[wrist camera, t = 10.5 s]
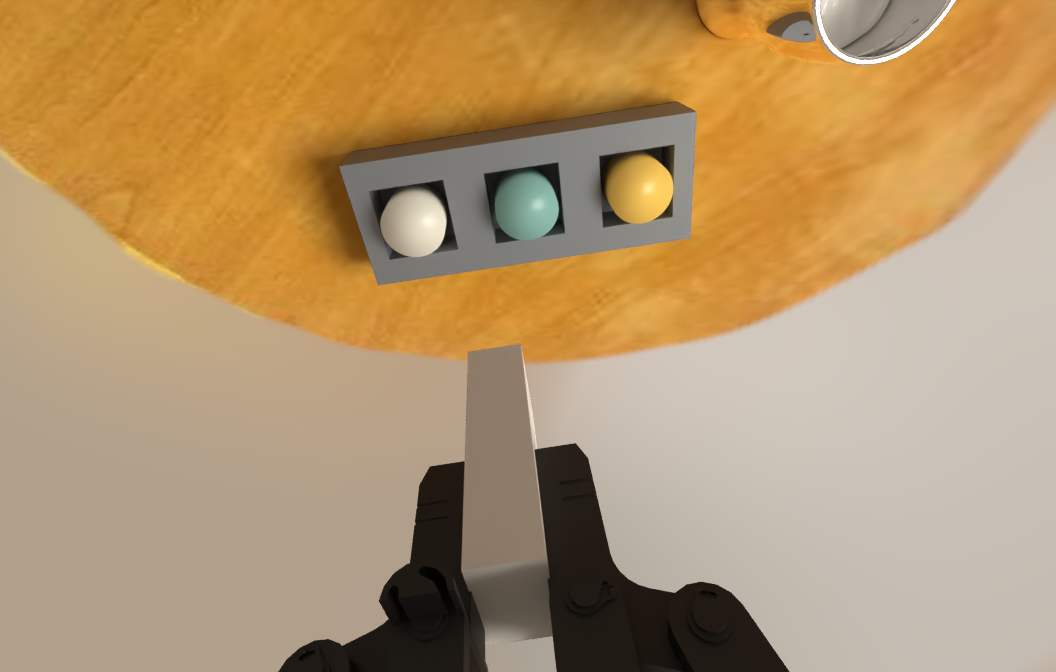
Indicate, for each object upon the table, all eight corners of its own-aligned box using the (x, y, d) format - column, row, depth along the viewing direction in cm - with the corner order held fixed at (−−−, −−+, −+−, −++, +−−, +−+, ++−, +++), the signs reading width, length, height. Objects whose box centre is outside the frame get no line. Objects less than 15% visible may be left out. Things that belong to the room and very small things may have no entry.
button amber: (602, 212, 39) (611, 228, 37) (599, 153, 37) (608, 165, 34) (659, 203, 39) (672, 218, 37) (660, 144, 37) (674, 156, 34)
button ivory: (397, 243, 40) (390, 261, 37) (380, 187, 37) (372, 202, 34) (453, 234, 40) (450, 252, 37) (440, 177, 37) (437, 192, 34)
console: (386, 262, 42) (378, 285, 39) (351, 151, 38) (338, 166, 34) (674, 219, 42) (690, 238, 39) (677, 101, 37) (696, 111, 34)
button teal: (499, 227, 39) (500, 244, 37) (489, 170, 37) (490, 184, 34) (556, 218, 39) (561, 235, 37) (550, 161, 37) (555, 174, 34)
